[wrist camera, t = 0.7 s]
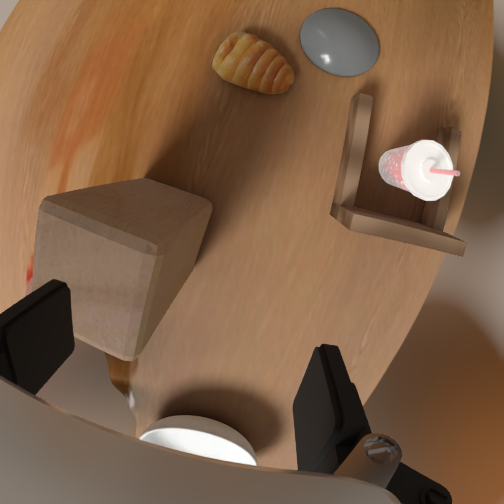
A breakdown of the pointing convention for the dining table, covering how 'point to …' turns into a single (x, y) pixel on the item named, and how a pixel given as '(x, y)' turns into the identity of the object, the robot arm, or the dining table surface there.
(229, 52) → the pastry
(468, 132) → the dining table surface
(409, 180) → the beverage cup
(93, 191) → the block
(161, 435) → the serving bowl
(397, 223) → the rack
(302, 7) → the dining table surface
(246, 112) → the dining table surface
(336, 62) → the coaster
